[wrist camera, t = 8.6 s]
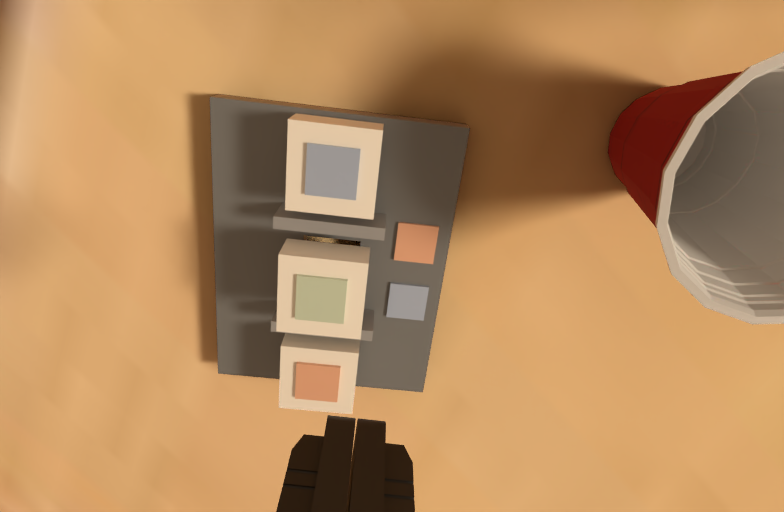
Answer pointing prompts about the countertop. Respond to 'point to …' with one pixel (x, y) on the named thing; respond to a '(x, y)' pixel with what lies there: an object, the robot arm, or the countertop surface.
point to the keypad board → (332, 236)
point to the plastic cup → (714, 185)
